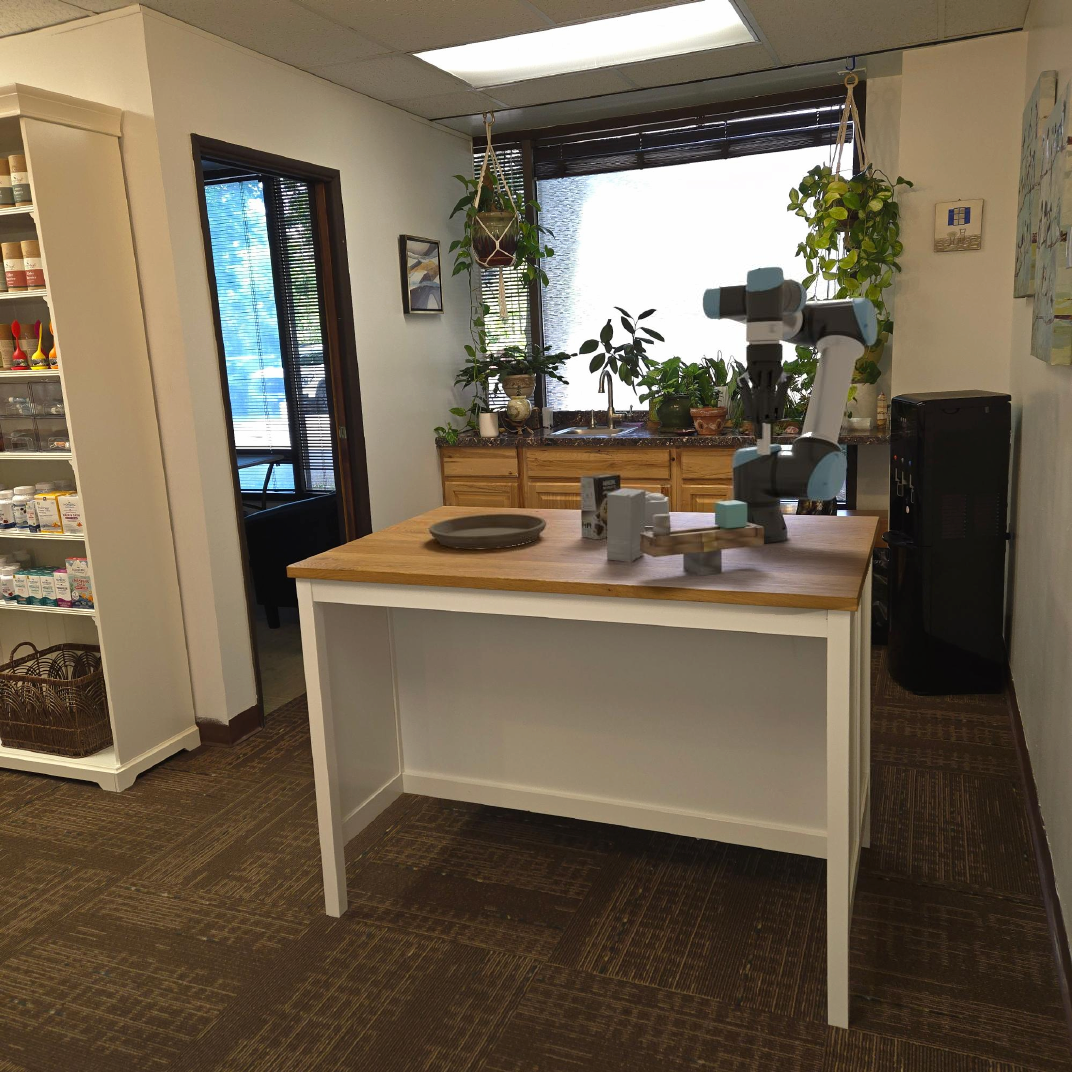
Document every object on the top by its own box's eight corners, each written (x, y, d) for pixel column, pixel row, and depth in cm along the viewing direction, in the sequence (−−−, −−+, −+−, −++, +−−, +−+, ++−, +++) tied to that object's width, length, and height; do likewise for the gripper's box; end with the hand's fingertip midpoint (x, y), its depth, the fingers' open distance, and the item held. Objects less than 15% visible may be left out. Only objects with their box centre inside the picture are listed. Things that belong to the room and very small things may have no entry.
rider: (735, 531, 207) (735, 500, 205) (747, 535, 202) (747, 503, 201) (715, 534, 205) (714, 502, 204) (726, 537, 200) (726, 505, 199)
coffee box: (598, 540, 241) (596, 478, 238) (580, 537, 246) (579, 476, 243) (622, 534, 247) (621, 474, 244) (605, 532, 252) (603, 472, 249)
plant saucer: (452, 557, 228) (451, 538, 228) (415, 537, 256) (414, 521, 255) (566, 542, 241) (565, 525, 240) (519, 525, 269) (518, 509, 268)
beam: (745, 561, 210) (745, 504, 208) (764, 568, 203) (765, 508, 200) (639, 573, 203) (638, 514, 200) (655, 581, 195) (654, 519, 193)
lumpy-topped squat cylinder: (667, 528, 255) (666, 496, 253) (619, 528, 257) (618, 496, 256) (669, 521, 265) (669, 490, 263) (624, 521, 267) (623, 491, 266)
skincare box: (621, 553, 224) (619, 487, 221) (648, 555, 221) (647, 488, 218) (605, 560, 217) (603, 492, 214) (633, 562, 213) (631, 493, 210)
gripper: (746, 343, 193) (745, 457, 197) (801, 341, 197) (799, 453, 201) (728, 344, 200) (728, 454, 204) (781, 342, 204) (780, 450, 208)
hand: (763, 453), depth 203 cm, fingers closed
